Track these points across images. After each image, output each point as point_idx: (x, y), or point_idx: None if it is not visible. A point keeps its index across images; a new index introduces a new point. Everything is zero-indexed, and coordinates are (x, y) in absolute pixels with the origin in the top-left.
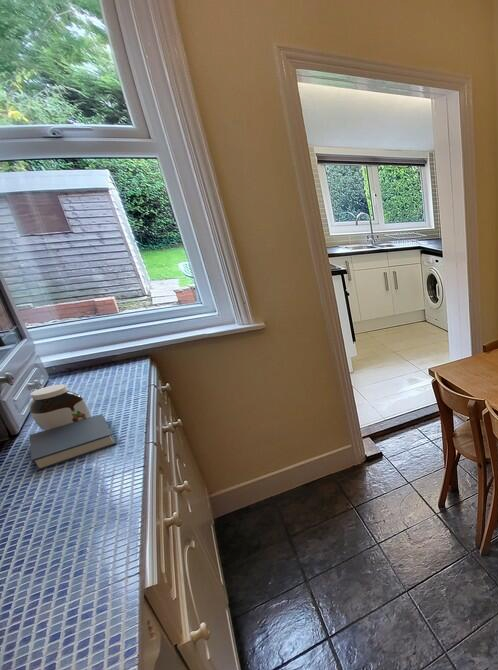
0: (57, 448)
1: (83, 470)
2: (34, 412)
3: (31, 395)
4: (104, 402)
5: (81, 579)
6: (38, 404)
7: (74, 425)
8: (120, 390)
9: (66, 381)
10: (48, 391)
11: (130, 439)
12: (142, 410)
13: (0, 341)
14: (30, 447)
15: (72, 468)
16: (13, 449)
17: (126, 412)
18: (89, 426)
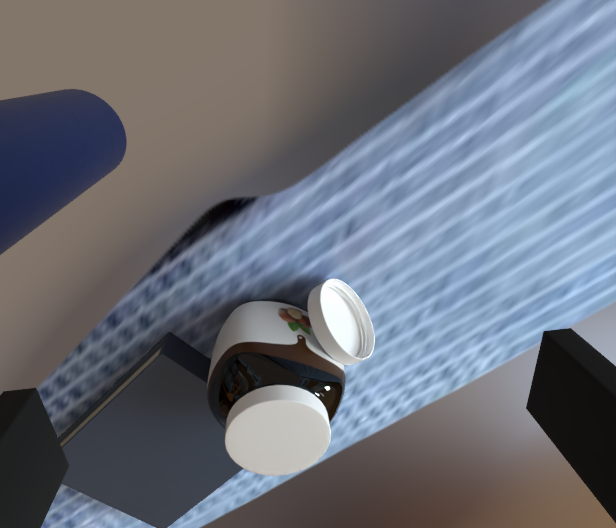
0: (93, 480)
1: (65, 518)
2: (209, 382)
3: (229, 424)
4: (456, 290)
5: None
6: (220, 413)
7: (217, 422)
8: (563, 263)
9: None
10: (256, 456)
11: (190, 512)
12: (351, 439)
13: (560, 446)
14: (92, 419)
15: (69, 496)
16: (146, 288)
17: (348, 409)
18: (207, 461)
